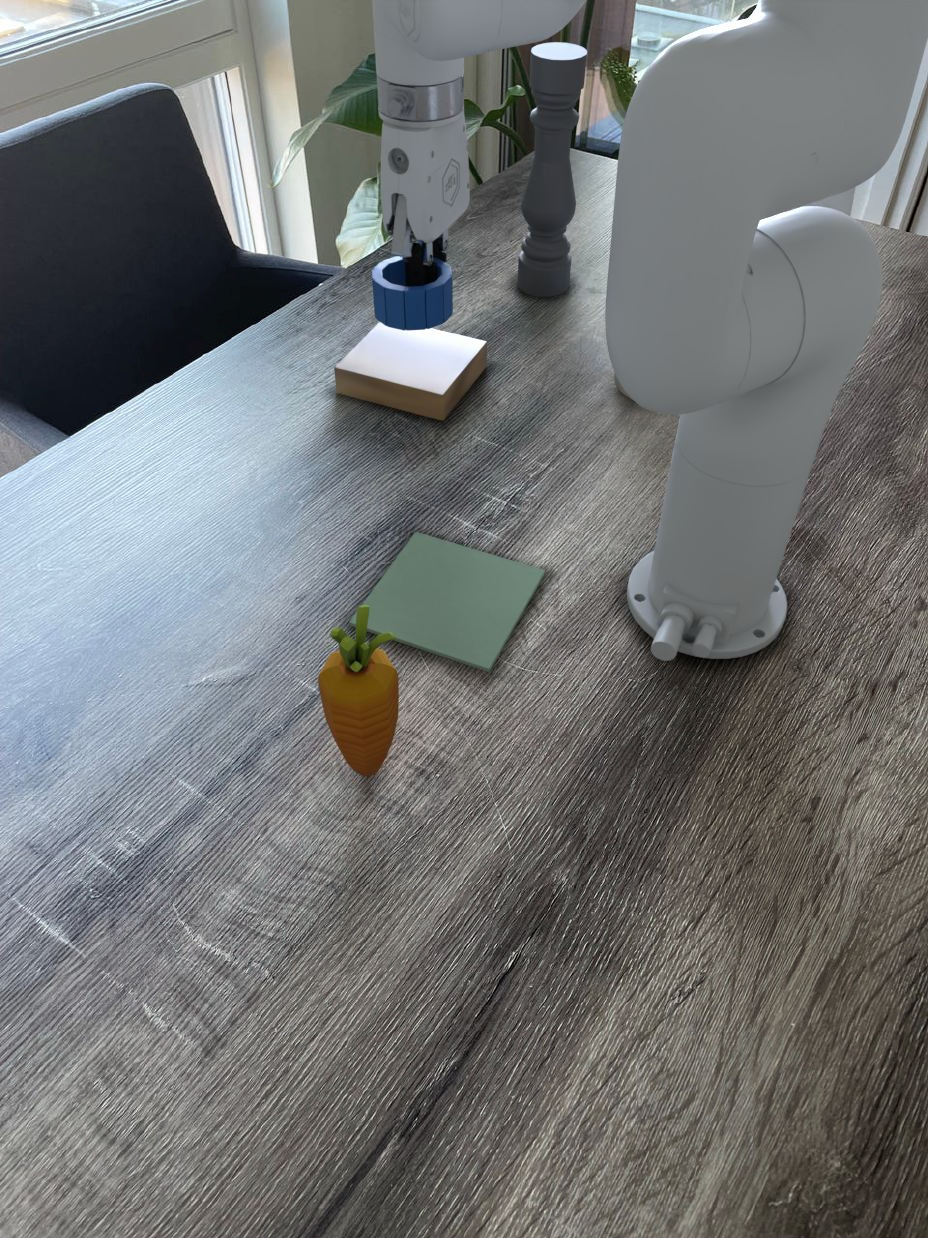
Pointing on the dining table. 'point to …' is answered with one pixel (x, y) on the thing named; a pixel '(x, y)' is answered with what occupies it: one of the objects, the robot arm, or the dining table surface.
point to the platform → (412, 369)
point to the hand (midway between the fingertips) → (426, 293)
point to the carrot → (360, 697)
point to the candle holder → (551, 168)
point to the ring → (411, 297)
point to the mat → (451, 600)
